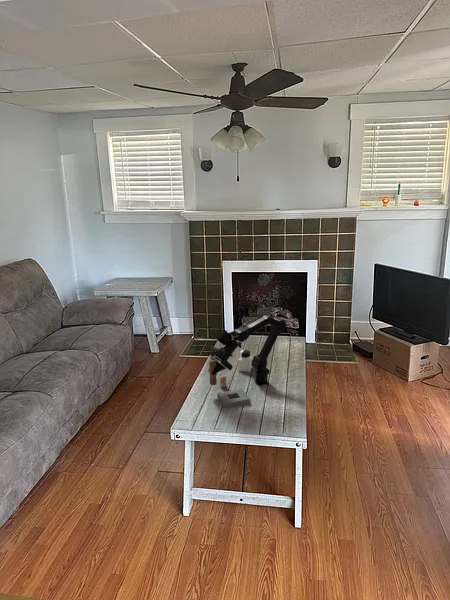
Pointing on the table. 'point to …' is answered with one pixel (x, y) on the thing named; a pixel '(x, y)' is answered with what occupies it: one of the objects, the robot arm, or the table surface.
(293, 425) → the table surface
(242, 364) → the medicine bottle
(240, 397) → the slate hole plate
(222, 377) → the short beech pin
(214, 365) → the walnut pin
